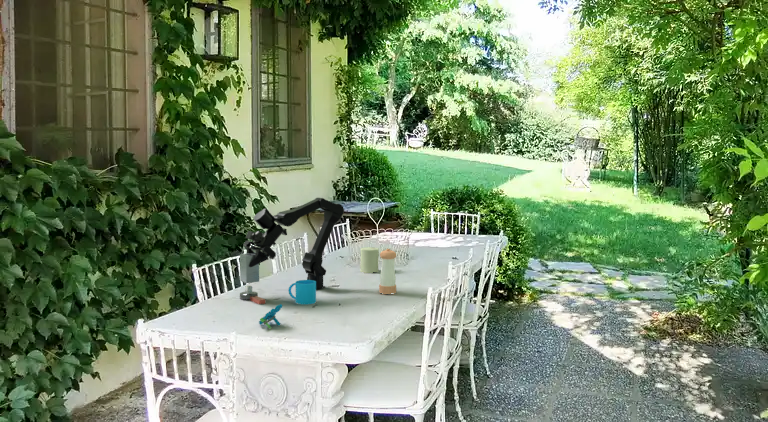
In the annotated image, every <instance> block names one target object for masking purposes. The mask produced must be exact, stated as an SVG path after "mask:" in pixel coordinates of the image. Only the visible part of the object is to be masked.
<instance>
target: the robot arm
mask: <svg viewBox="0 0 768 422" xmlns="http://www.w3.org/2000/svg"><path fill="white" fill-rule="evenodd" d="M319 209H320V210H322V211H324V212H323V222H322V225H321V227H320V230H319V231H318V232H319V233H318V235H317V238H316V239H315V242H314V244H313V246H312V249H311V250H310V251H309V252H307V251H306V252H305V253H304V256H303V257H302V260H301V261H302V263H301V266H302V267H303V270H304V271H305V274H307V277H306V280H313V281H316V291H318V290H321V289H326V286H325V285H324V276H326V273H327V270H326V268H325V267H324V266H323V253H324V251H325V248H326V245H327V244H328V241H329V239H330V237H331V234H332V231H333V229H334V226H335V225H336V224H337V223H338V222H339V221H340V220H341V218H342V216H344V215H343V214H344V213H345V208H344V206H343V205H342V204H341V203H336V202H332V201H330V200H327V199H326V198H323V197H316V198H314V199H313V200H310V201H307V202H306V203H304V204H301V205H300V206H297V207H295V208H293V209H287V210H286V209H285V210H283V211H279V212H277V214H275V215H274V214H273V215H272V213H271V212H270V211H269V210H268V209H267V208H263V209H262V210H259V211H258V212H257V213H256V214H255V215H254V216H253V221H254V222H255V223H256V224H257V225H258V226H259V227H260V228H261V229H262V230H265V232H264V233H263V232H261V231H259V230H258V231H256V232H255V231H251V230H247V233H246V236H245V239H247V240H245V242H244V243H243V246H244V247H245V249H246V253H245V254H248V253H254V254H256V255H255V257H254V258H253V260H252V261H251V263H250V265H249V267H253V266H255V265H257V264H259V265H260V264H261V263H263V262H266V261H269V259H270V260H274V259H275V258H276V256H277V253H276V251H275V250H273V249H272V246H275V245H276V244H277V243H276V242H277V240H278V239H279V238H280V236H281V235H283V236H288V231H287V230H288V229H287V228H285V227H288V228H289V227H292V226H293V225H295V223H297V222H298V220H299V219H300V218H302V217H304V216H307V215H309V214H310V213H313V212H315V211H316V210H319Z"/></svg>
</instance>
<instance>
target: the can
mask: <svg viewBox="0 0 768 422" xmlns="http://www.w3.org/2000/svg"><path fill="white" fill-rule="evenodd" d="M378 271H379V248H378V247H372V246H370V247H368V246H367V247H361V248H360V271H359V272H360V273H362V272H364V274H374V273H373V272H377V273H379V272H378Z"/></svg>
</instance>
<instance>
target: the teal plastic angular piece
mask: <svg viewBox="0 0 768 422" xmlns="http://www.w3.org/2000/svg"><path fill="white" fill-rule="evenodd" d="M282 308H283V304H282V303H280V304H278V305H276V306H275V308H274V307H273V308H271V309H270V311H268V312H266V314H265V315H264V316H263V317H261V318H259V321H258V324H259V325H260V326H261V325H265V326H266V327H267V328H268V329H269V328H271V329H272V327H271V325H270V324H269V323H270V322H271V321H274V323H275V324H276V325H277V326H278V325H279V326H281V325H280V324H281V322H280V321H279V320H278V318H276V315H277V313H278V312H280V310H281V309H282Z"/></svg>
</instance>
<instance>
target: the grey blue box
mask: <svg viewBox="0 0 768 422" xmlns="http://www.w3.org/2000/svg"><path fill="white" fill-rule="evenodd" d="M255 255H256V254H254V253H248V254H246V253H241V254H239V274H240V275H239V277H240V278H239V281H240V282H243V283H244V284H251V283H259V282H260V263H259V264H257V265H255V266H253V267H249V265H250V263H251V261H252V260H253V258H254V257H255Z"/></svg>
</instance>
